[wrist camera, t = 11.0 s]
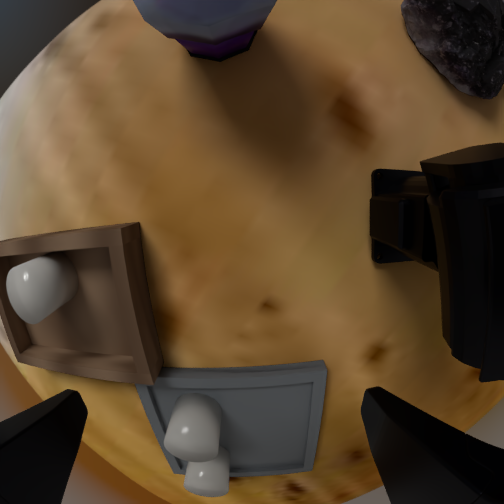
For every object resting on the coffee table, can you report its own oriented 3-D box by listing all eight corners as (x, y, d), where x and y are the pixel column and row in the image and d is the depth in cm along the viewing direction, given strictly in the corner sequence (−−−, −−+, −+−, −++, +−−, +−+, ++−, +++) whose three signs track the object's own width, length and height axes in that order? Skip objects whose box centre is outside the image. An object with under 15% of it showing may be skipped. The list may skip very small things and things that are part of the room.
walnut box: (139, 222, 18) (120, 228, 15) (163, 362, 20) (153, 385, 17) (5, 239, 17) (-16, 246, 15) (33, 347, 20) (17, 361, 17)
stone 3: (233, 447, 21) (232, 483, 17) (226, 466, 22) (224, 499, 18) (191, 439, 21) (184, 475, 17) (188, 459, 22) (182, 492, 18)
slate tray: (323, 359, 20) (327, 370, 19) (310, 461, 23) (312, 470, 22) (137, 365, 20) (131, 375, 19) (176, 464, 23) (174, 473, 22)
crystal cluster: (504, 102, 16) (566, 83, 6) (439, 108, 16) (529, 69, 6) (447, 4, 14) (492, -32, 4) (363, -13, 14) (407, -77, 4)
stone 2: (207, 387, 20) (200, 428, 15) (229, 418, 20) (227, 458, 16) (166, 398, 20) (153, 436, 15) (189, 427, 21) (182, 464, 16)
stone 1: (82, 302, 18) (50, 327, 14) (47, 299, 18) (15, 321, 13) (73, 250, 17) (36, 266, 13) (38, 251, 17) (1, 266, 13)
